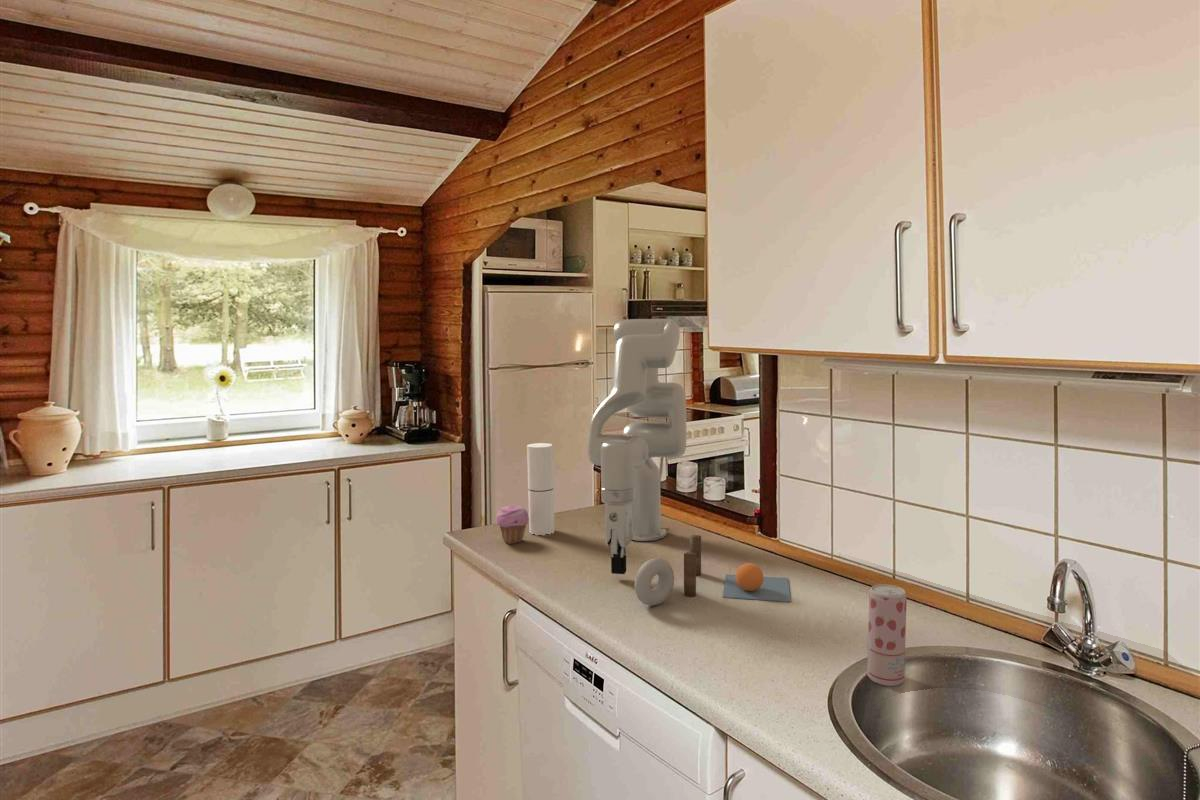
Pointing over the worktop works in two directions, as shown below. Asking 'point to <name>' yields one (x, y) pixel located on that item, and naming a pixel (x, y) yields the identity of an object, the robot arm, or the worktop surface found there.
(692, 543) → the post
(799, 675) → the worktop surface
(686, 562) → the post
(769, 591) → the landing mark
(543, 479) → the cylindrical container
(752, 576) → the ball
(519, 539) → the cupcake
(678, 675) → the worktop surface
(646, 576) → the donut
